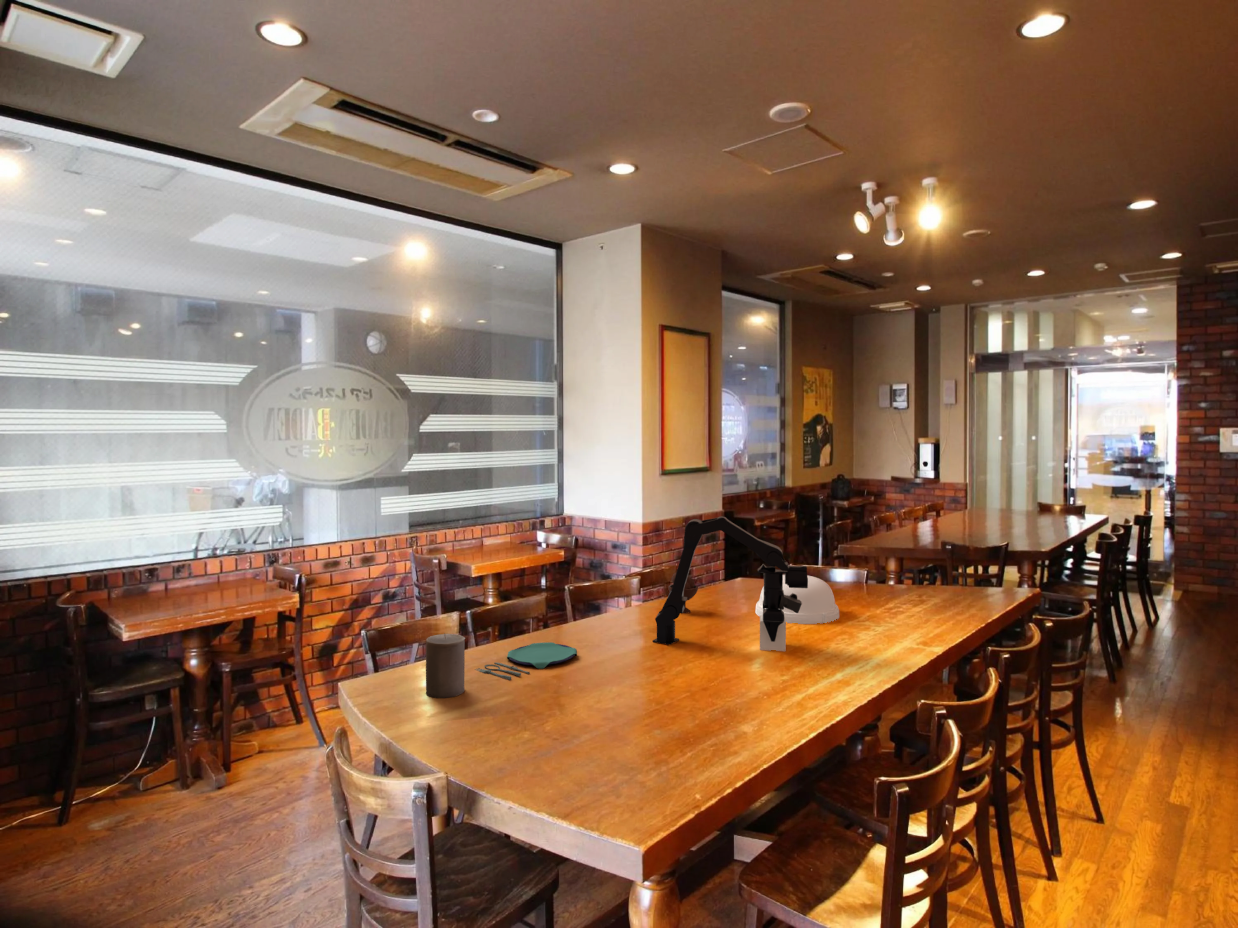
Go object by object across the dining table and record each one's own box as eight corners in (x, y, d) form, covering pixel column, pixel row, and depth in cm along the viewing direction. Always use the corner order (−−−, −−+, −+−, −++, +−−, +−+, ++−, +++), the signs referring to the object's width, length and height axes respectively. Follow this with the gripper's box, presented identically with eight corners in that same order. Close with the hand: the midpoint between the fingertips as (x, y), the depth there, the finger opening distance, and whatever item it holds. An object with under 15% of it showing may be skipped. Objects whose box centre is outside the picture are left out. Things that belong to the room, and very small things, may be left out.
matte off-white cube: (759, 649, 222) (759, 621, 222) (759, 642, 230) (759, 615, 230) (785, 651, 221) (785, 622, 221) (784, 644, 229) (785, 616, 228)
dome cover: (737, 609, 276) (737, 572, 276) (801, 601, 289) (801, 566, 288) (791, 629, 247) (791, 588, 247) (859, 619, 260) (860, 580, 259)
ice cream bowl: (688, 616, 264) (688, 575, 263) (662, 612, 270) (662, 571, 270) (703, 611, 272) (703, 571, 271) (678, 606, 279) (678, 567, 278)
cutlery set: (590, 657, 216) (589, 649, 216) (512, 685, 193) (512, 676, 193) (543, 645, 229) (543, 638, 229) (466, 670, 206) (465, 662, 206)
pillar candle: (425, 699, 181) (426, 639, 180) (425, 686, 190) (425, 629, 189) (466, 696, 183) (466, 637, 183) (463, 683, 193) (463, 627, 192)
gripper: (801, 594, 214) (801, 647, 215) (798, 582, 232) (798, 630, 233) (763, 592, 216) (762, 645, 217) (762, 580, 235) (762, 629, 235)
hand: (772, 637), depth 225 cm, fingers open, 9 cm apart
